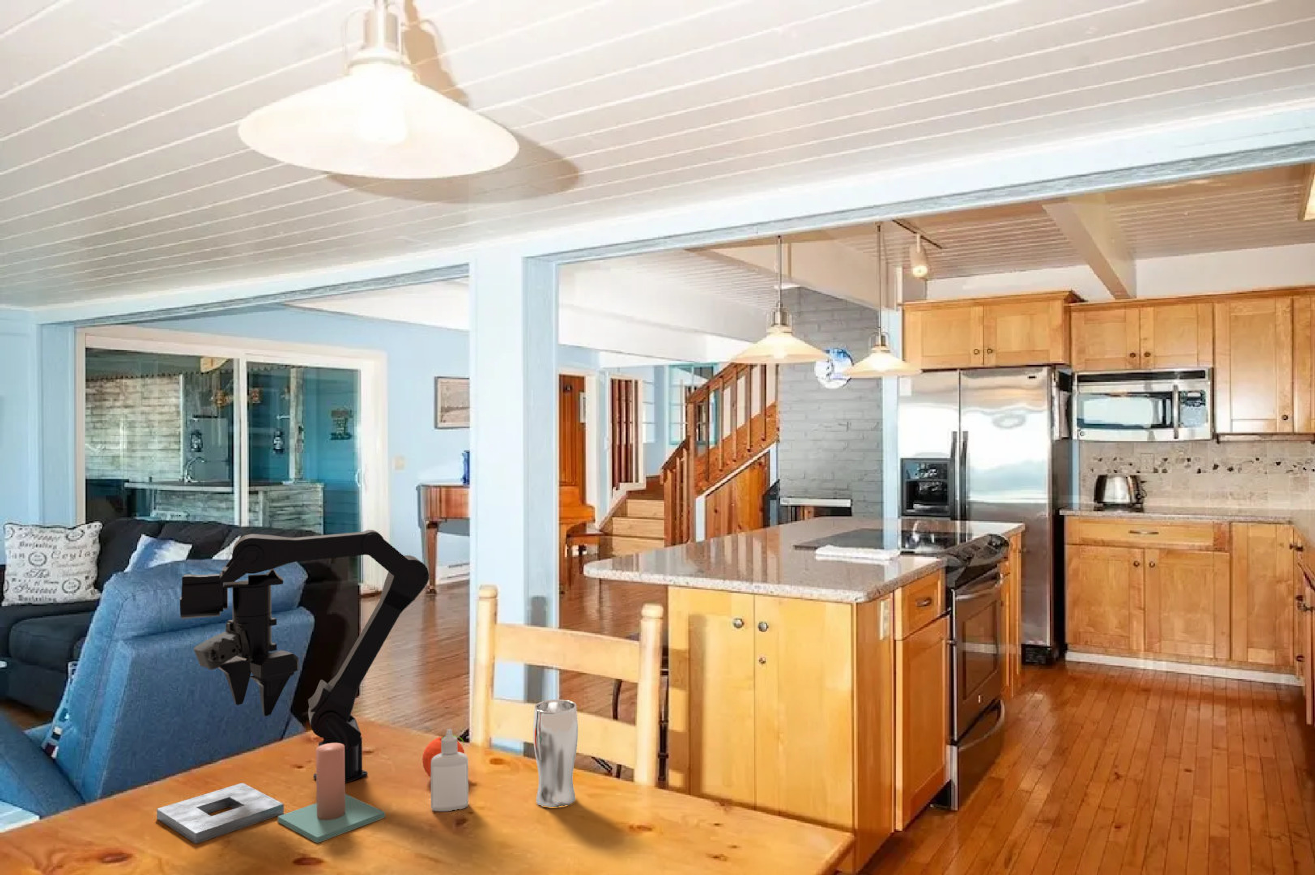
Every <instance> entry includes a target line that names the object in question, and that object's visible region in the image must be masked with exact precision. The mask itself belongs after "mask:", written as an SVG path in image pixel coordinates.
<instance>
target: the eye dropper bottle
mask: <svg viewBox="0 0 1315 875" xmlns="http://www.w3.org/2000/svg"><path fill="white" fill-rule="evenodd" d="M453 735H454V734H453V731H452V728H448V729H446V733H445V737H443V736H442V737H443V738H442V739H441V752H442V753H440V754H438V755H436V756H434V757H433V758H432V760H431V777H430V809H431V810H432V811H433V812H453V811H452V810H455V811H458V810H457V809H460V810H463V809H465V808H468V806H469V760H468V756H467V754H466V753H465V752H464V753H465V754H464V753H461V752H457V741H458V736H457V737H455V736H456V735H454V736H453Z"/></svg>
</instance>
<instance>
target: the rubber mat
mask: <svg viewBox="0 0 1315 875" xmlns="http://www.w3.org/2000/svg"><path fill="white" fill-rule="evenodd" d="M384 818H386V811H384V810H381V809H379V808H377V807H374V806H372V805H370V804H368V803H366V802H364V801H362V800H360V799H358V798H355V797H353V796H350V795H349V794H347V793H345V814H344V815H343V816H341V817H339V818H336V819H332V820H321V819H319V818H317V802H315V803H312V804H310V805H306V806H304V807H301V808H299V809H296V810H292V811H290V812H287V813H284V814H282V815H279V816H277V823H279V824H281V825H283V826H284V827H287V828H289V829H291V830H292V831H294V832H296V833H298V834H299V835H302V836H304V837H305V838H307V839H309V840H310V841H313V842H314V843H317V844H319V843H321V842H324V841H326V840H330V839H332V838H335V837H337V836H339V835H342V834H345V833H348V832H350V831H353V830H355V829H358V828H360V827H364V826H366V825H368V824H371V823H374V822H376V821H378V820H381V819H384Z"/></svg>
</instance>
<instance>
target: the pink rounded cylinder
mask: <svg viewBox="0 0 1315 875" xmlns="http://www.w3.org/2000/svg"><path fill="white" fill-rule="evenodd" d="M315 762H316V763H315V768H316V769H315V774H316V778H315V780H316V781H315V782H316V803H317V818H319V819H321V820H332V819H336V818H339V817H341V816H343V815H344V814H345V794H346V783H345V748H344V745H343V744H341V743H328V744H324V745H321V746H319V745H318V746H317V747H316V749H315Z"/></svg>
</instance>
